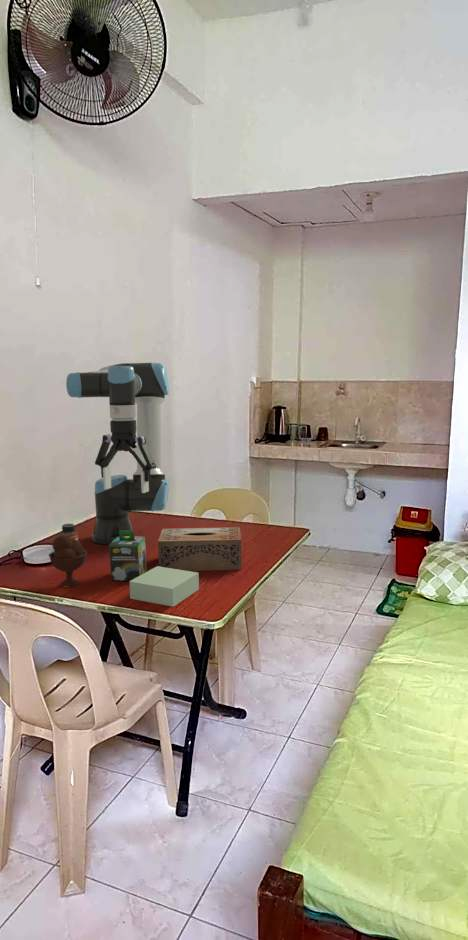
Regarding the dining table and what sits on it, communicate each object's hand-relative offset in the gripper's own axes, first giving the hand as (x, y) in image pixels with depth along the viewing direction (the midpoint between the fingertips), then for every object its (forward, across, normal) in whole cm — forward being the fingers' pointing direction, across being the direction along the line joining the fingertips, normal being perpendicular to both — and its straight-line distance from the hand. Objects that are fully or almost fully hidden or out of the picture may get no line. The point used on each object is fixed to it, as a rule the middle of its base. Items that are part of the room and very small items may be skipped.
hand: (126, 490), depth 189 cm
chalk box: (+27, 0, 0) cm, 27 cm away
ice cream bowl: (+27, -12, -13) cm, 32 cm away
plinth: (+27, +18, -8) cm, 33 cm away
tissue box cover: (+27, +14, +20) cm, 36 cm away
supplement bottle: (+27, -29, +7) cm, 40 cm away
